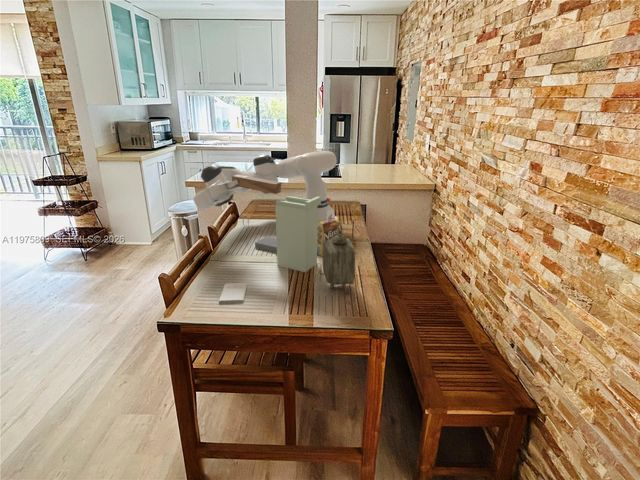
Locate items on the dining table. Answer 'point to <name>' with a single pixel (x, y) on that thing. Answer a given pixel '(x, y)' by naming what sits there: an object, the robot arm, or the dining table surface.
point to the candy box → (326, 232)
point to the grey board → (267, 244)
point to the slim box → (258, 184)
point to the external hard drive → (233, 293)
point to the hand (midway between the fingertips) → (242, 180)
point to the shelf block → (297, 232)
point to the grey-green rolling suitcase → (339, 260)
